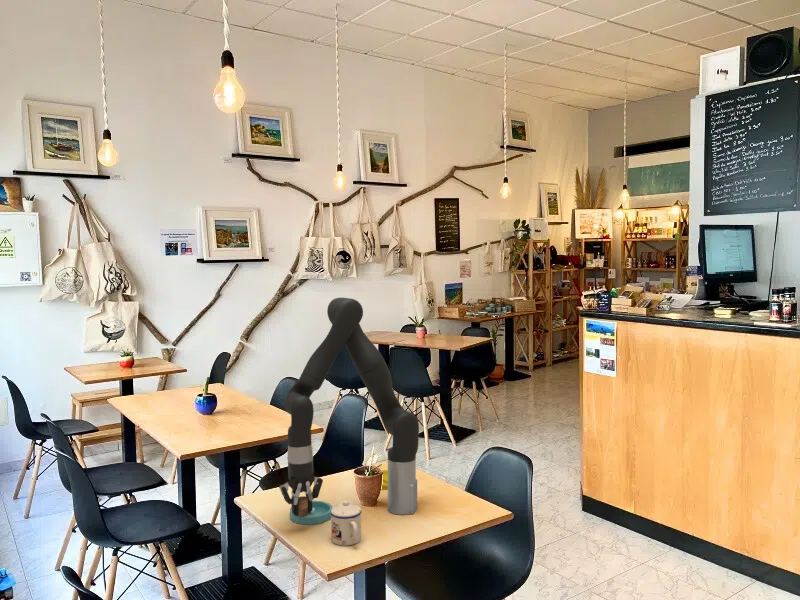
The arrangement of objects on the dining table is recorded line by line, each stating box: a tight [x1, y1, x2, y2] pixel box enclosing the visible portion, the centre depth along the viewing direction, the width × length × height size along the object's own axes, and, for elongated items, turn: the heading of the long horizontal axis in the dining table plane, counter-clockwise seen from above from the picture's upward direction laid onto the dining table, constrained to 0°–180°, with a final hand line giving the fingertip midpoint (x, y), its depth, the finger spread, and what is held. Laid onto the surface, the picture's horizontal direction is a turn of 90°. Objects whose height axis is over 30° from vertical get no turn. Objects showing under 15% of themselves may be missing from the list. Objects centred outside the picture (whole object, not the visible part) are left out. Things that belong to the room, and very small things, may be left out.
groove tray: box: [289, 500, 334, 526], centre depth 207 cm, size 14×14×2 cm
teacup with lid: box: [330, 499, 363, 547], centre depth 188 cm, size 12×9×12 cm
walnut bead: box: [297, 495, 308, 517], centre depth 195 cm, size 4×4×5 cm
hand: (302, 513), depth 196 cm, fingers closed on walnut bead, 3 cm apart
